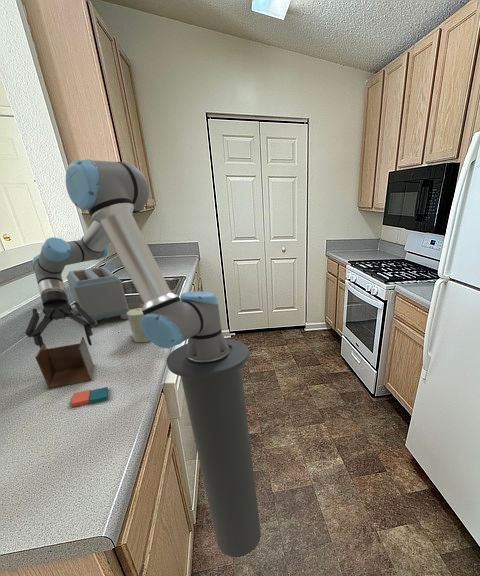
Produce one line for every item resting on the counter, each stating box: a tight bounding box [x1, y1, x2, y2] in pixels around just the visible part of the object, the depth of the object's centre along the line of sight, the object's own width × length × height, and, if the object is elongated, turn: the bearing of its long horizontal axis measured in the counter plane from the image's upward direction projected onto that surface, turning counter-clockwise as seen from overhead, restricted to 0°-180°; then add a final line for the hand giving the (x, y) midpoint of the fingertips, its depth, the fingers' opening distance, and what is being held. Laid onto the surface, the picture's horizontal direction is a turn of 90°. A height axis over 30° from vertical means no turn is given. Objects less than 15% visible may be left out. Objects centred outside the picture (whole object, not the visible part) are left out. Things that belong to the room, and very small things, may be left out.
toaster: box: [66, 266, 130, 328], centre depth 159 cm, size 19×33×20 cm, turn 38°
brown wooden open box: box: [34, 336, 95, 390], centre depth 106 cm, size 12×11×11 cm
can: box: [127, 307, 151, 343], centre depth 134 cm, size 9×9×12 cm
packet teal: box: [89, 386, 109, 405], centre depth 97 cm, size 4×6×1 cm
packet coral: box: [70, 389, 91, 408], centre depth 96 cm, size 4×6×1 cm
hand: (67, 348), depth 114 cm, fingers open, 13 cm apart
